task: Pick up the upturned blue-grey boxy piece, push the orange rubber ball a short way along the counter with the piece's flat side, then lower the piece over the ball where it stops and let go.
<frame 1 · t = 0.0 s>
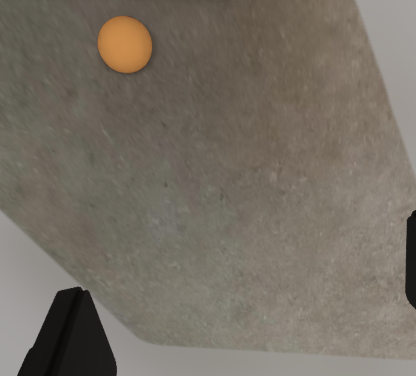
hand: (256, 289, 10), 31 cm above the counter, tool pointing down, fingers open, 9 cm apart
ball: (125, 45, 34), on the counter
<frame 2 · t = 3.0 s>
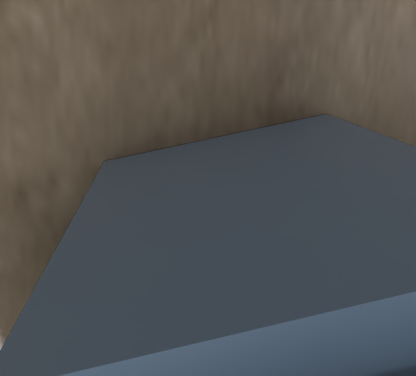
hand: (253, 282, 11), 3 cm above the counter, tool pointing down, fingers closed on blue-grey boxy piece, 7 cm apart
blue-grey boxy piece: (234, 235, 14), on the counter, touching gripper
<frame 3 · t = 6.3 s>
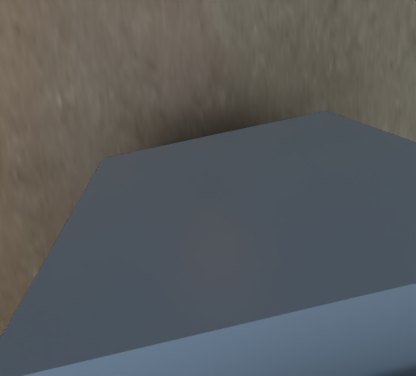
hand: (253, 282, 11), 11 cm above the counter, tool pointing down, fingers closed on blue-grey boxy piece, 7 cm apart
blue-grey boxy piece: (234, 233, 13), point 8 cm above the counter, touching gripper
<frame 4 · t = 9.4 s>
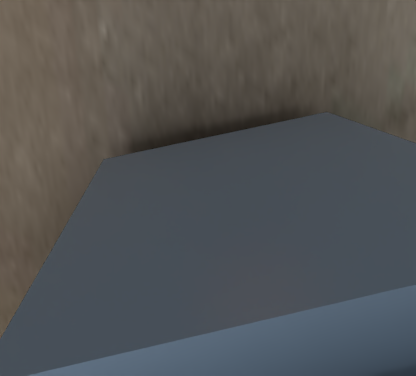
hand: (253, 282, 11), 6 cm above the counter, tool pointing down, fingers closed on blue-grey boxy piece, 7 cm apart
blue-grey boxy piece: (234, 234, 13), point 3 cm above the counter, touching gripper
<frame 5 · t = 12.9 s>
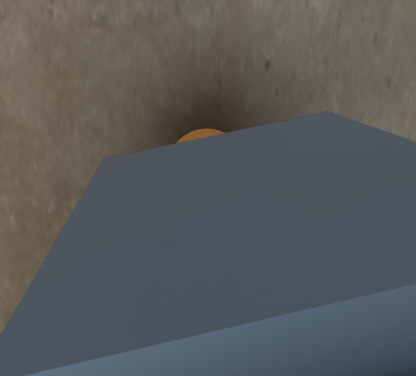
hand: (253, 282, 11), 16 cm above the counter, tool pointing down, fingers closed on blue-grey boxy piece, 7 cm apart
blue-grey boxy piece: (234, 234, 13), point 13 cm above the counter, touching gripper
ball: (206, 167, 23), on the counter
when the fingers open (3 cm above the counter, at t = 16.1 s): blue-grey boxy piece stays where it is, on the counter.
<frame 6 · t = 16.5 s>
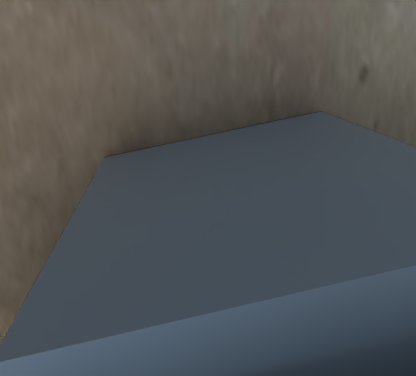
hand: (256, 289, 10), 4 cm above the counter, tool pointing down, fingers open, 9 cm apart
blue-grey boxy piece: (231, 230, 14), on the counter
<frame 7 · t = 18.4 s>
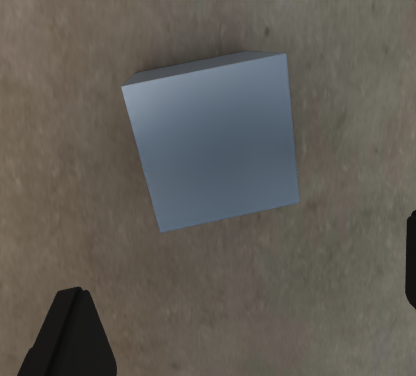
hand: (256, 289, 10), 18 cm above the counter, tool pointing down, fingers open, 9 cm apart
blue-grey boxy piece: (201, 117, 26), on the counter
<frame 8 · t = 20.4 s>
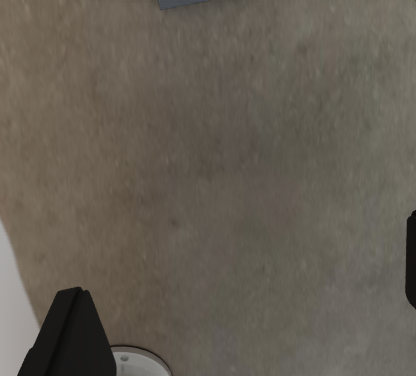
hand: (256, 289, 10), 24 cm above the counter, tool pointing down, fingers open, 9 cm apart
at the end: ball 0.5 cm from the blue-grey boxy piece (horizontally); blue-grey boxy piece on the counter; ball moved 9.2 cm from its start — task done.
